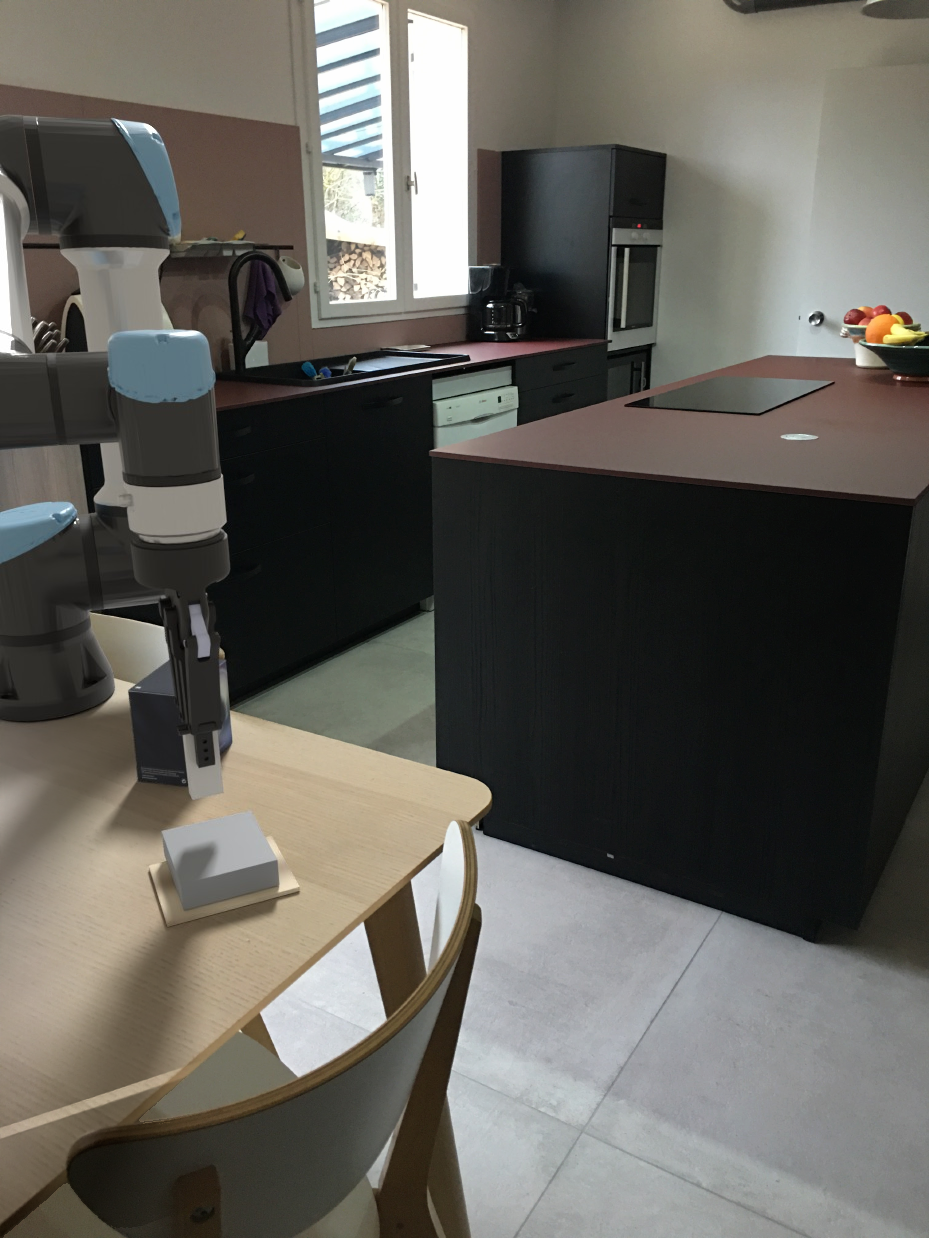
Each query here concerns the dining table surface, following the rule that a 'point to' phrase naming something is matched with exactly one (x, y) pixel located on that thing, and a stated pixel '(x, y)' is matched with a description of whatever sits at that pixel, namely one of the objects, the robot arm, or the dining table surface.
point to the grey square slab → (219, 859)
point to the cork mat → (178, 915)
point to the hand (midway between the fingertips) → (206, 792)
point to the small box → (166, 727)
